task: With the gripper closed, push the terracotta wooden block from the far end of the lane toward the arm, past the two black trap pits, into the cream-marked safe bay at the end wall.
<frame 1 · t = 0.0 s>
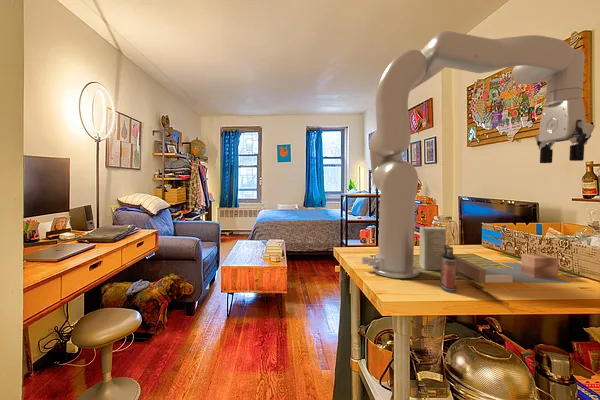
hand: (560, 161, 83), 31 cm above the counter, fingers open, 9 cm apart
block: (538, 274, 78), point 1 cm above the counter, touching trap deck
trap deck: (499, 276, 81), on the counter
lighter: (447, 287, 73), on the counter
skincare box: (431, 268, 89), on the counter
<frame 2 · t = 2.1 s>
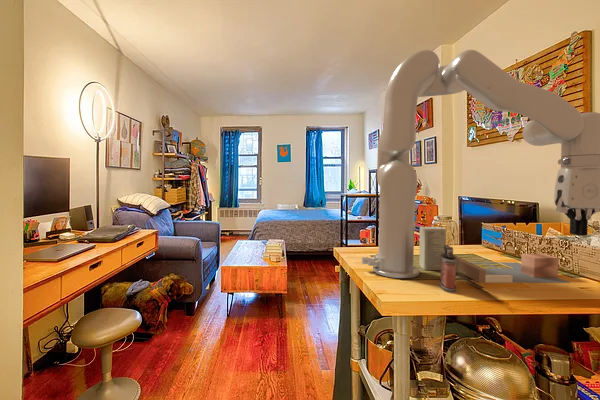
hand: (578, 234, 77), 12 cm above the counter, fingers closed
nothing on the counter moved.
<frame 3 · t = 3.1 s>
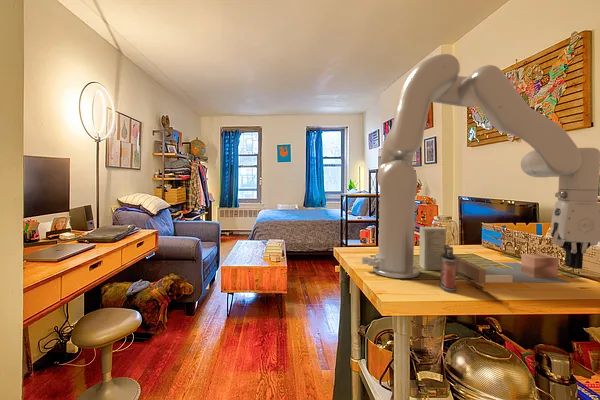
hand: (573, 267, 77), 3 cm above the counter, fingers closed
nothing on the counter moved.
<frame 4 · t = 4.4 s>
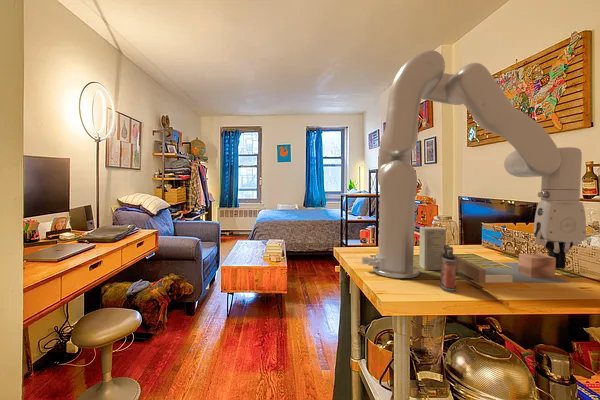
hand: (556, 266, 77), 4 cm above the counter, fingers closed
block: (535, 274, 77), point 2 cm above the counter, touching gripper
everything else where it was.
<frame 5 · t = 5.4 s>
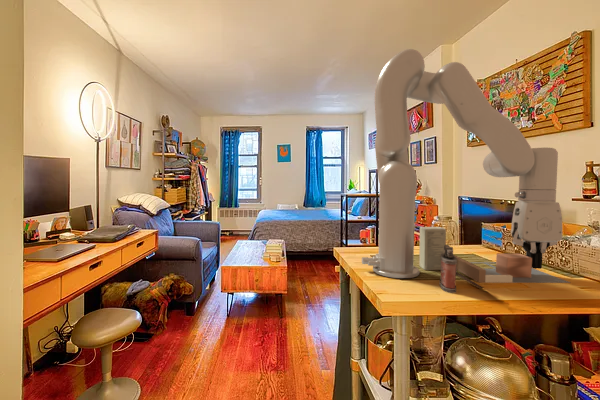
hand: (533, 267, 77), 4 cm above the counter, fingers closed
block: (512, 274, 78), point 2 cm above the counter, touching gripper
everything else where it was.
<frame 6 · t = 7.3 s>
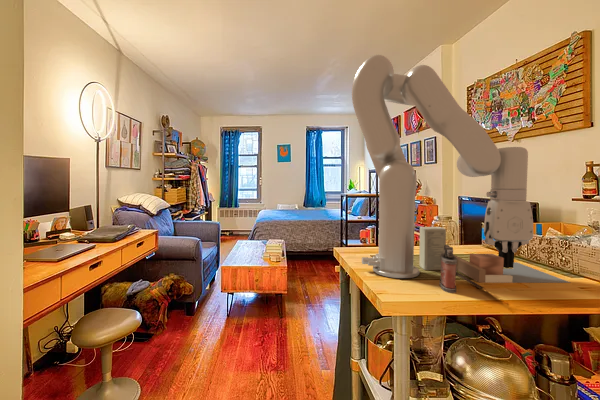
hand: (505, 266, 77), 4 cm above the counter, fingers closed
block: (485, 274, 78), point 1 cm above the counter, touching gripper, trap deck
everything else where it was.
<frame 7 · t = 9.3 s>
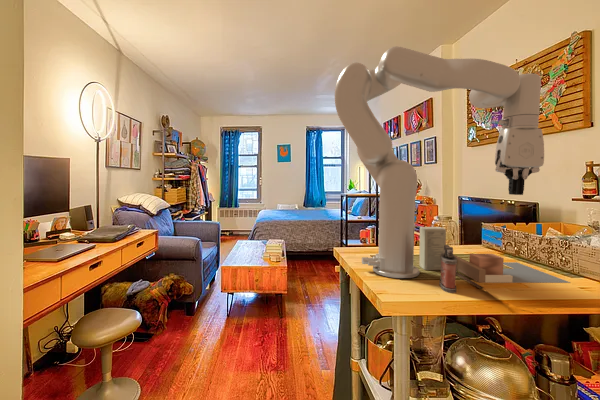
hand: (515, 194, 79), 22 cm above the counter, fingers closed
block: (485, 274, 78), point 1 cm above the counter, touching trap deck
everything else where it was.
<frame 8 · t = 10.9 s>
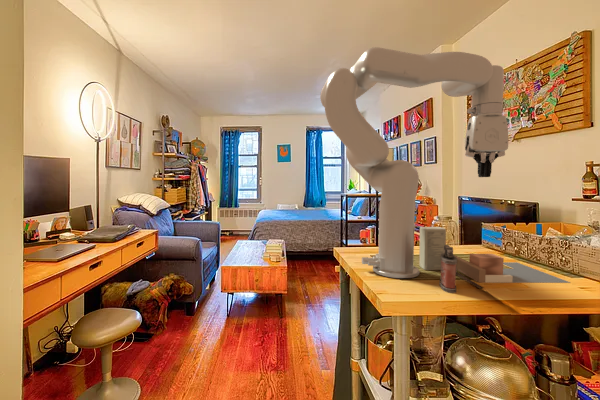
hand: (484, 176, 86), 27 cm above the counter, fingers closed
nothing on the counter moved.
at the end: block 0.1 cm from the target spot on the trap deck, point 1.5 cm above the trap deck's base; block tilted 0° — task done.
